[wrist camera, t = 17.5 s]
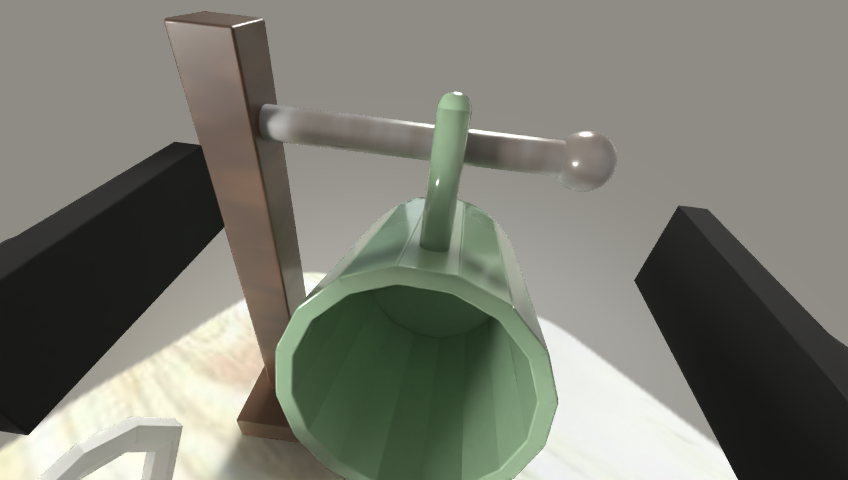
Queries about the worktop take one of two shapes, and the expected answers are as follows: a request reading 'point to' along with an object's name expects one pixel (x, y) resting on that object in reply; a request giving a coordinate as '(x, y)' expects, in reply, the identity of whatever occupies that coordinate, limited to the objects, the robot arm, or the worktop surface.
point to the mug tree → (268, 180)
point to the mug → (123, 449)
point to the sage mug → (421, 342)
